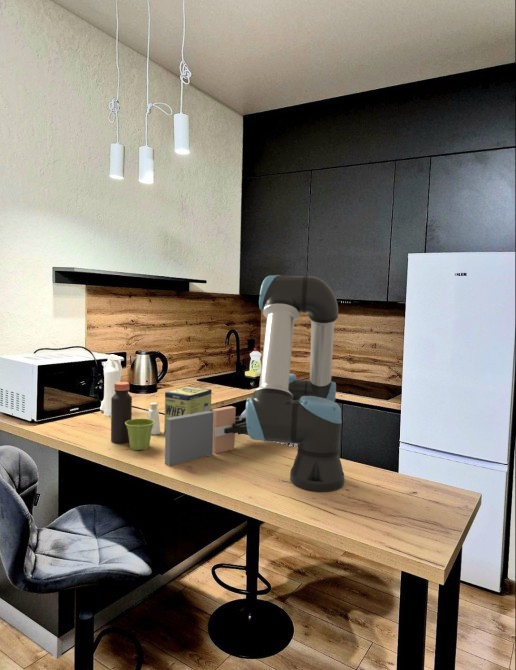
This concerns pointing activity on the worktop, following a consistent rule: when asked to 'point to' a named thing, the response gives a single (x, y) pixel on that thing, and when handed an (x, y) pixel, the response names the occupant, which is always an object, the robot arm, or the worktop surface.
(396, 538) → the worktop surface
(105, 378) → the white spray bottle
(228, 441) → the stub
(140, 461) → the worktop surface
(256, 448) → the worktop surface
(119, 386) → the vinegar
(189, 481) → the worktop surface
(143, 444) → the plant pot
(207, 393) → the protein box
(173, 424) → the board
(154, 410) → the pepper shaker
